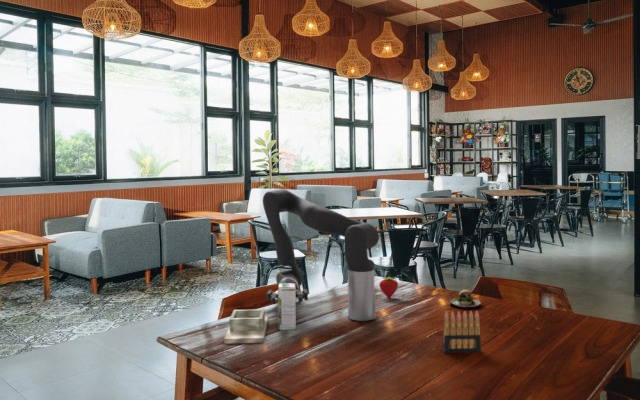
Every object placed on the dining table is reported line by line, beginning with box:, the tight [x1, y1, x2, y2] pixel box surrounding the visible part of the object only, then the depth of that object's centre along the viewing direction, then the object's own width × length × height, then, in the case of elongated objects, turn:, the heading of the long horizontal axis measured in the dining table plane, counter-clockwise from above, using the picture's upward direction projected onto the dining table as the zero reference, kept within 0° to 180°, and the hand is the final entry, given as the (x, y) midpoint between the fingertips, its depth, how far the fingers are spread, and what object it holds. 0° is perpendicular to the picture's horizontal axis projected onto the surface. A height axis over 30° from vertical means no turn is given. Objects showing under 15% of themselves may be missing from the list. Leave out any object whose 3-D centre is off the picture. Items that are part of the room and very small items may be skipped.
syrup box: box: [277, 283, 297, 331], centre depth 175 cm, size 6×6×14 cm
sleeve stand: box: [223, 308, 269, 344], centre depth 172 cm, size 12×22×6 cm, turn 2°
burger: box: [448, 289, 482, 308], centre depth 199 cm, size 12×12×8 cm
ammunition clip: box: [442, 310, 482, 354], centre depth 151 cm, size 11×2×12 cm, turn 90°
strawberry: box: [379, 273, 399, 299], centre depth 210 cm, size 6×8×10 cm
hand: (287, 300), depth 177 cm, fingers open, 8 cm apart
